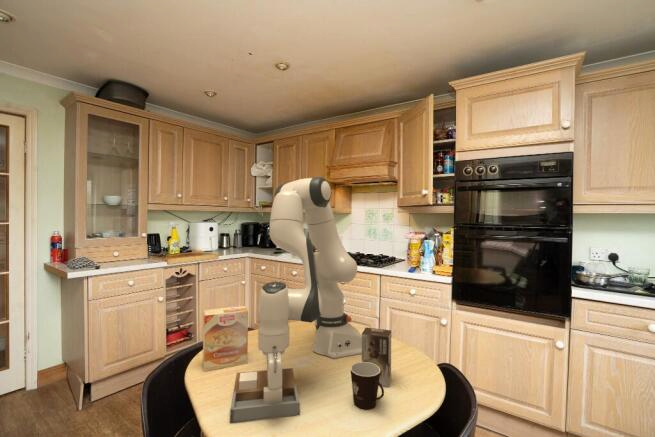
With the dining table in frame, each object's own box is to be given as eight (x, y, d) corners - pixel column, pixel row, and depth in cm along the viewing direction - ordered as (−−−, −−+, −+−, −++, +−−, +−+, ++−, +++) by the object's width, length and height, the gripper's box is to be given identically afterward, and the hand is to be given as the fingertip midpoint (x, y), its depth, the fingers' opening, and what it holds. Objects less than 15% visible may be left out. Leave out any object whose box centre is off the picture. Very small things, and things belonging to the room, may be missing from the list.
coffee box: (391, 378, 105) (392, 330, 105) (388, 387, 99) (389, 336, 99) (364, 373, 108) (365, 326, 108) (360, 382, 102) (361, 333, 102)
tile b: (256, 379, 97) (257, 371, 97) (256, 388, 92) (256, 379, 92) (240, 381, 96) (240, 373, 96) (239, 390, 91) (239, 381, 91)
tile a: (281, 385, 89) (282, 390, 87) (281, 402, 90) (281, 408, 87) (263, 387, 88) (263, 391, 86) (263, 404, 89) (263, 410, 86)
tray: (296, 397, 93) (296, 385, 93) (299, 415, 85) (299, 402, 85) (233, 403, 90) (233, 391, 90) (230, 423, 81) (230, 409, 81)
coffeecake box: (203, 371, 108) (204, 315, 108) (202, 363, 114) (203, 309, 114) (248, 363, 114) (248, 310, 114) (244, 355, 121) (245, 304, 120)
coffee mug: (347, 395, 95) (348, 362, 95) (375, 394, 96) (376, 361, 95) (354, 420, 83) (354, 382, 83) (386, 418, 84) (386, 381, 84)
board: (292, 376, 105) (292, 367, 105) (296, 397, 93) (296, 387, 93) (236, 382, 101) (236, 372, 101) (233, 403, 90) (233, 393, 90)
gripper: (288, 355, 81) (287, 408, 81) (282, 327, 101) (282, 370, 101) (262, 357, 80) (262, 411, 80) (262, 328, 100) (262, 371, 100)
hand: (273, 388), depth 91 cm, fingers closed
